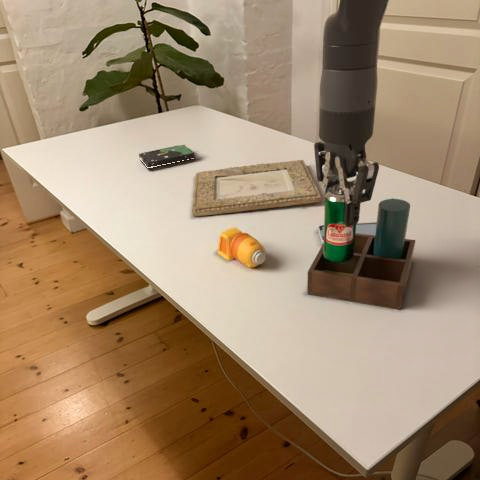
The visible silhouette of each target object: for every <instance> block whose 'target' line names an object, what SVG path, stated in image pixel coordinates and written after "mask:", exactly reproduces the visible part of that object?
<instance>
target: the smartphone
mask: <svg viewBox="0 0 480 480" xmlns="http://www.w3.org/2000/svg"><path fill="white" fill-rule="evenodd" d="M376 224H377V221H376V222H375V221H374V222H358V223H357V224H356V233H359V234H367V235H375V233H376ZM317 230H318V234H319V238H320V241H321V243H322V244H323V243H324V224H320V225H318V226H317Z"/></svg>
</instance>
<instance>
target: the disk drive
mask: <svg viewBox="0 0 480 480" xmlns="http://www.w3.org/2000/svg"><path fill="white" fill-rule="evenodd" d="M138 157H139V161H140V163H141V164H142V165H143V166H144V168H146V170H147V171H155V170H159V169H165V168H169V167H172V166H179V165H182V164H183V165H184V164H187V163H191V162H194V161H196V154H195V152H194V151H193V150H192V149H191V148H190V147H188V146H186V144H180V145H174V146H169V147H163V148H160V149H154V150H149V151H143V152H141V153H138ZM140 158H141V160H142V161H143V162H144V163H145V164H146V166H147V167H151V166H157V165H161V166H157V167H153V168H147V167H146V166H145V164H144V163H143V162H142V161H141V160H140ZM191 158H194V159H191ZM187 159H189V160H187ZM182 160H184V161H182ZM177 161H180V162H177ZM172 162H175V163H172ZM167 163H171V164H167ZM162 164H166V165H162Z"/></svg>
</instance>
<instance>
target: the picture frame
mask: <svg viewBox="0 0 480 480" xmlns="http://www.w3.org/2000/svg"><path fill="white" fill-rule="evenodd" d="M194 180H195V181H194V189H193V201H192V211H191V213H192V217H193V218H194V217H195V218H196V217H203V216H205V217H206V216H215V215H222V214H231V213H238V212H248V211H255V210H263V209H272V208H280V207H281V208H282V207H288V206H289V207H290V206H297V205H305V204H315V203H318V202H321V201H322V197H321V193H320V191H319V189H318V187H317V185H316V183H315V181H314V179H313V177H312V174H311V173H310V171H309V169H308V167H307V165H306V163H305V161H304V159H297V160H289V161H282V162H281V161H280V162H271V163H269V162H268V163H259V164H258V163H257V164H250V165H243V166H234V167H231V166H230V167H227V168H226V167H225V168H221V169H212V170H205V171H199V172H195V179H194Z"/></svg>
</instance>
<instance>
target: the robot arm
mask: <svg viewBox="0 0 480 480" xmlns="http://www.w3.org/2000/svg"><path fill="white" fill-rule="evenodd" d="M389 1H390V0H339V3H338V8H337V11H336V12H334V13H332V14H330V15H329V16H328V17H327V18H326V20H325V22H324V24H323V25H324V27H323V33H322V34H323V35H322V63H321V65H322V67H321V75H320V83H319V104H318V105H319V108H318V109H319V110H318V138H319V139H320V141H318V142H314V144H313V149H314V159H315V161H314V162H315V172H316V173H315V174H316V180H317V182H319V183H320V182H321V183H322V184H321V186H322V188H323V190H324V196H325V195H326V194H327V192H328V188H329V187H331V186H333V185H337V184H340V187H341V188H343V189H344V195H345V201H346V202H345V208H344V224H345V225H346V226H351V225H354V224H357V223H359V220H360V215H361V213H360V212H361V204H362V203H365V202H369V201H371V200H372V198H373V193H374V190H375V185H376V182H377V177H378V174H379V170H380V165H379V162H377V161H376V162H370V161H369V160H368V159H367V152H366V144H367V143H368V141H369V140H370V139H372V137H373V135H374V126H375V118H376V117H375V115H376V105H377V94H378V62H379V51H380V50H379V49H380V40H381V39H380V38H381V26H382V23H383V20H384V17H385V15H386V11H387V9H388V8H387V7H388V5H389ZM351 178H355V179H353V180H348V179H351ZM352 186H354V187H355V188H354V193H353V194H352V193H351V187H352Z"/></svg>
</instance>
